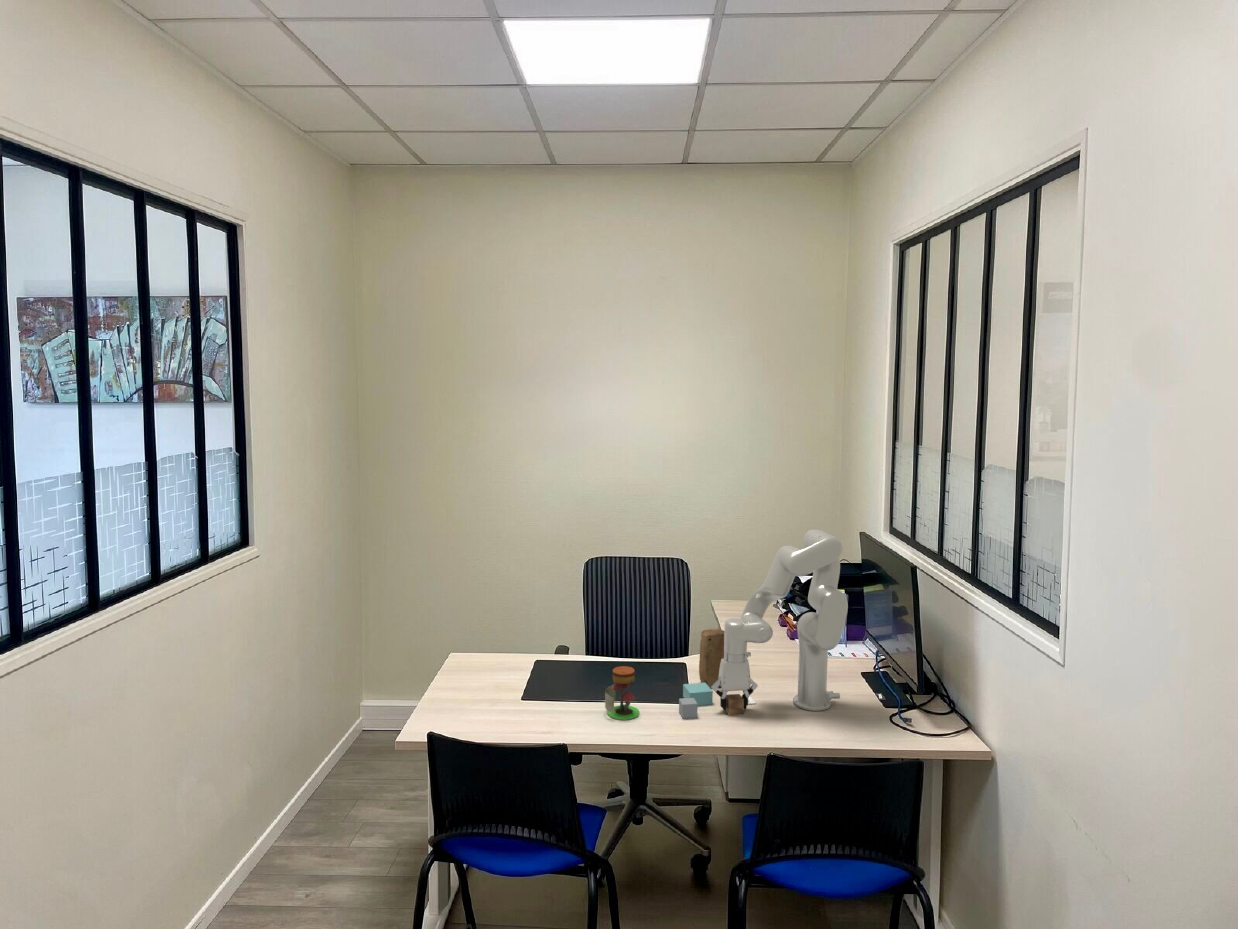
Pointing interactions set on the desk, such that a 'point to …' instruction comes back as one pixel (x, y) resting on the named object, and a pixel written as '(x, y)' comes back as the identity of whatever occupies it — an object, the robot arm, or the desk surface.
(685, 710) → the slate grey cube
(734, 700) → the walnut cube
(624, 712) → the green-based stack
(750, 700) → the card
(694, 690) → the teal base block
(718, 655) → the brown piece
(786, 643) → the desk surface
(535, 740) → the desk surface
